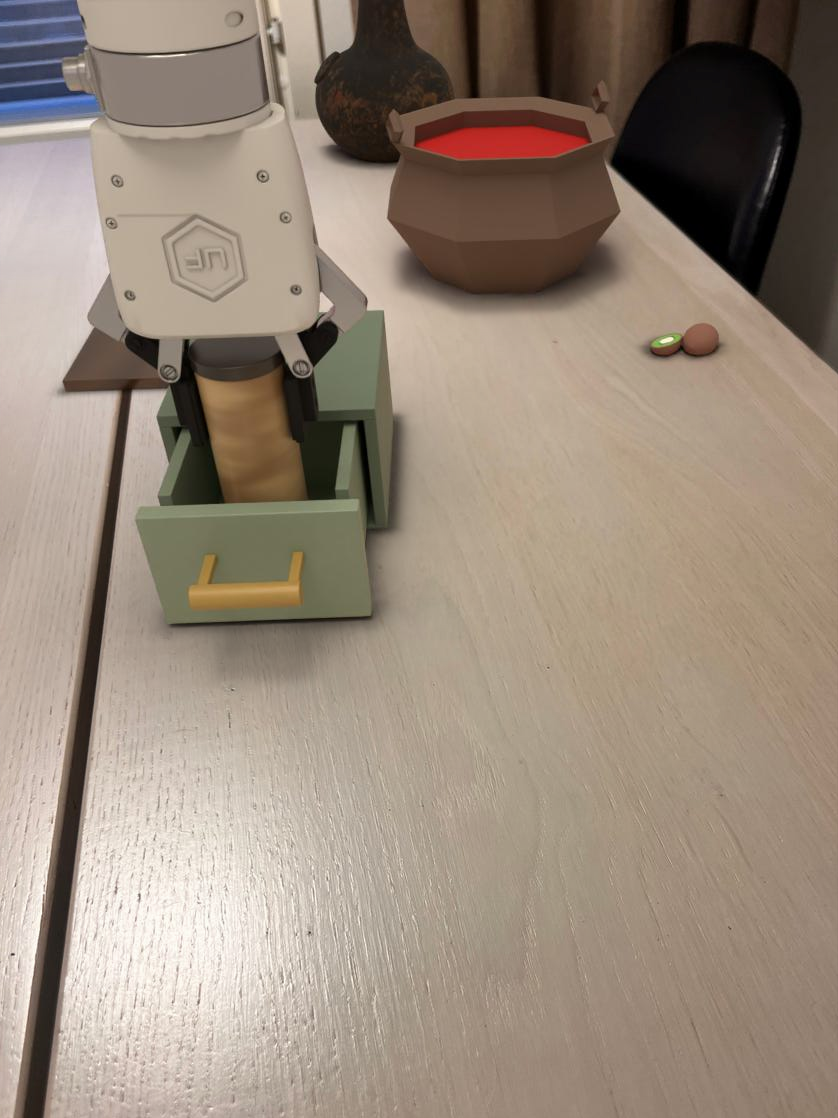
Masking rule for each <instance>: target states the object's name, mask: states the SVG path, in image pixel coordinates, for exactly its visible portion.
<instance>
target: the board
mask: <svg viewBox="0 0 838 1118" xmlns="http://www.w3.org/2000/svg"><path fill="white" fill-rule="evenodd" d="M62 384H63V388H64V390H65V392H66V393H69V392H70V393H71V392H72V393H73V392H99V391H100V392H101V391H102V392H103V391H128V390H131V391H132V390H157V389H159V390H160V389H168V387H169V385H170V384H169V383H168V382H165V381H163V380H162V379H161V378H160V377H159V375H158V370H156V369H155V368H154V367H152V366H151V365H149V364H148V363H147V362H145V361H144V360H143V359H141V358H140V357H138V356H137V355H136V354H134V353H133V352H131V351H130V350H129V349H128V348H127V346H126V345H125V344H124V343H123V342H121V341H117V340H115V339H114V338H112V337H110V336H109V335H107V334H105V333H104V332H102V331H100V330H99V329H97V328H95V327H94V326H93V328H92V329H91V331H90V334H89V335H88V337H87V338H86V339H85V342H84V344H83V345H82V346H81V349H80V350H79V352H78V354H77V355H76V357H75V359H74V360H73V362H72V364H71V366H70V367H69V369H68V371H67V372H66V374H65V376H64V377H63V379H62Z"/></svg>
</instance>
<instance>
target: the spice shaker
mask: <svg viewBox="0 0 838 1118" xmlns="http://www.w3.org/2000/svg"><path fill="white" fill-rule="evenodd" d="M188 356H189V361H190V365H191V368H192V370H193V371H194V374H195V378H196V382H197V386H198V391H199V395H200V399H201V404H202V408H203V412H204V416H205V421H206V425H207V429H208V434H209V438H210V442H211V446H212V451H213V455H214V459H215V464H216V468H217V472H218V476H219V481H220V485H221V489H222V494H223V498H224V502H225V504H231V503H259V502H286V501H308V495H307V489H306V482H305V476H304V470H303V464H302V458H301V452H300V446H299V443H296V440H295V441H293V439H292V434H291V428H290V422H289V416H288V410H287V404H286V398H285V392H284V386H283V379H284V375H285V372H286V361H285V358H284V356H283V354H282V352H281V350H280V348H279V346H278V344H277V342H276V340H275V338H274V336H260V337H234V338H204V339H196V340H195V341H194V342H193V343H192V344H191V345H190V347H189V349H188Z"/></svg>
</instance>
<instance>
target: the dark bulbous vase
mask: <svg viewBox="0 0 838 1118" xmlns="http://www.w3.org/2000/svg"><path fill="white" fill-rule="evenodd" d="M356 19H357V20H356V29H355V35H354V39H353V41H352V44H351V45H350V46H349V48H347V49H345V50H343V51H341V52H339V51H337V50H335V51H333V52H332V53H330V54H329V55H328V56H327V57H326V58H325V60H324V61H323V62H322V63H321V65H320V66H319V68H318V70H317V72H316V74H315V77H314V80H313V82H314V84H315V85H316V86H315V91H314V92H315V95H314V100H315V101H314V102H315V109H316V112H317V115H318V118H319V121H320V123H321V125H322V127H323V130H324V131H325V132H326V134H327V135H328V136H329V138H330V139H331V140H332V141H333V143H335V144H336V145H337V146H338V147H339V148H340V149H341V150H343V151H344V152H346V153H347V154H349V155H350V156H352V157H355V158H357V159H359V160H362V161H366V162H373V163H374V162H375V163H393V162H395V163H396V162H399V159H400V156H401V154H400V152H399V151H398V150H397V148H396V147H395V146H394V145H393V143H392V142H391V140H390V137H389V134H388V131H387V128H386V123H387V120H388V117H389V114H390V113H391V112H392V110H393V109H394V110H395V111H396V112H398V113H399V116H400V115H403V114H406V113H410V112H413V111H417V110H420V109H423V108H427V107H430V106H434V105H437V104H440V103H444V102H447V101H451V100H454V99H455V91H454V87H453V83H452V80H451V78H450V75H449V74H448V72H447V70H446V68H445V67H444V66H443V64H442V63H441V62H440V61H439V60H438V59H437V58H436V57H434V56H433V55H432V54H431V53H430V52H427V51H426V50H424V49H423V48H421V47H420V46H419V45H418V44H417V43H416V41H415V39H414V38H413V35H412V32H411V29H410V28H411V27H410V25H409V20H408V15H407V11H406V7H405V1H404V0H358V1H357V18H356Z"/></svg>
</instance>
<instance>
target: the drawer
mask: <svg viewBox="0 0 838 1118" xmlns="http://www.w3.org/2000/svg"><path fill="white" fill-rule="evenodd" d="M299 446H300V452H301V458H302V464H303V470H304V476H305V482H306V489H307V495H308V501H286V502H259V503H231V504H225V502H224V498H223V494H222V489H221V485H220V481H219V476H218V472H217V468H216V464H215V459H214V455H213V451H212V446H211V442H210V438H208V441H207V444H204V446H193V444H192V440H191V436H190V432H189V428H188V426H183V428H182V430H181V433H180V436H179V439H178V441H177V444H176V447H175V449H174V452H173V455H172V457H171V460H170V463H169V462H168V466H167V469H166V471H165V474H164V476H163V479H162V482H161V485H160V487H159V490H158V492H157V495H156V497H157V499H158V503H159V505H156V506H155V505H154V506H153V505H152V506H151V505H149V506H139V507H138V508H137V512H136V514H135V517H134V522H135V525H136V528H137V532H138V534H139V537H140V540H141V544H142V548H143V550H144V554H145V557H146V560H147V564H148V566H149V567H148V568H149V569H150V573H151V575H152V579H153V583H154V585H155V589H156V592H157V594H158V599H159V602H160V604H161V608H162V611H163V615H164V618H165V620H166V623H167V625H169V624H171V625H173V624H196V623H197V624H199V623H200V624H201V623H223V622H224V623H225V622H226V623H227V622H248V621H249V622H250V621H272V620H274V621H275V620H276V621H277V620H295V619H296V620H301V619H305V620H306V619H327V618H331V619H332V618H355V617H356V618H357V617H371V616H372V610H373V609H372V608H373V601H372V600H373V599H372V592H371V585H370V584H371V583H370V577H369V569H368V568H369V567H368V561H367V552H366V538H367V529H366V528H367V516H368V505H369V493H370V486H369V477H368V468H367V459H366V450H365V442H364V433H363V424H362V420H349V421H321V422H310V423H309V428H308V434H307V439H306V442H305V443H299Z"/></svg>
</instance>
